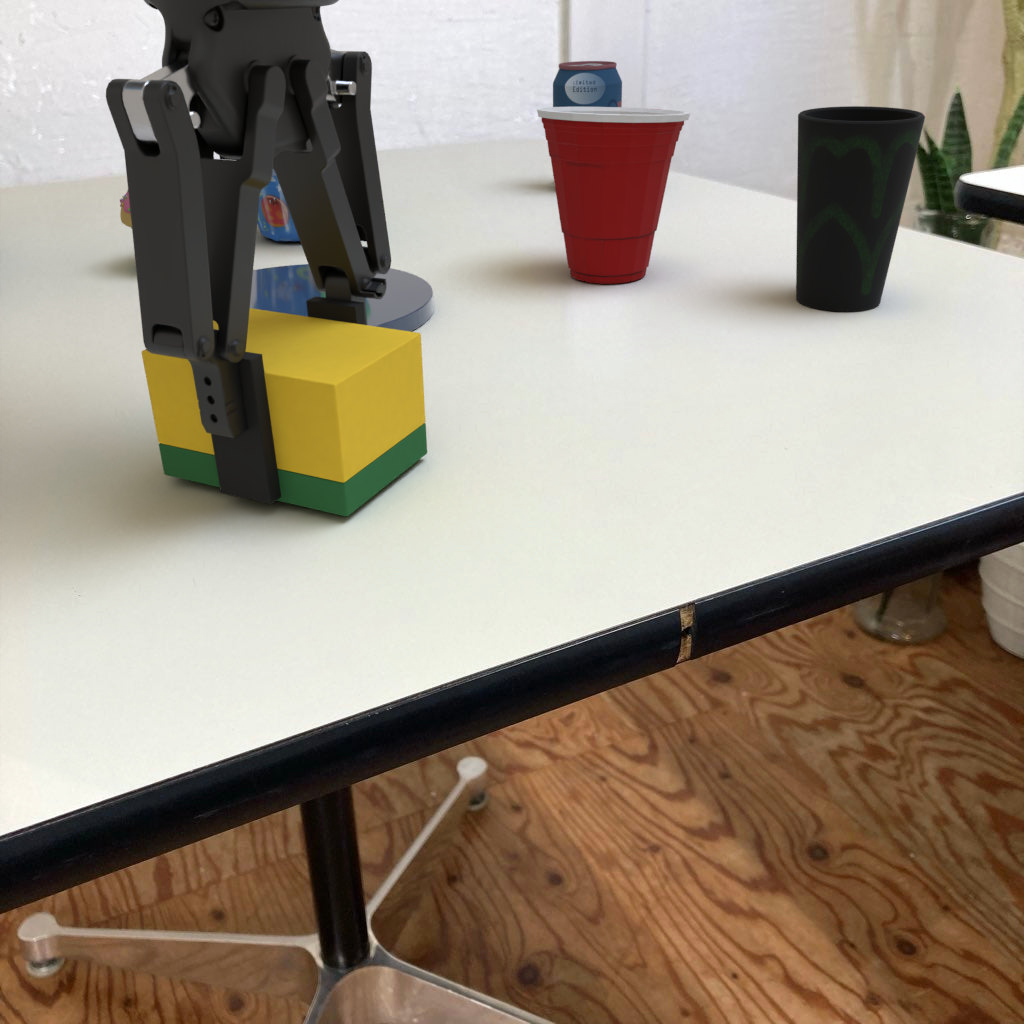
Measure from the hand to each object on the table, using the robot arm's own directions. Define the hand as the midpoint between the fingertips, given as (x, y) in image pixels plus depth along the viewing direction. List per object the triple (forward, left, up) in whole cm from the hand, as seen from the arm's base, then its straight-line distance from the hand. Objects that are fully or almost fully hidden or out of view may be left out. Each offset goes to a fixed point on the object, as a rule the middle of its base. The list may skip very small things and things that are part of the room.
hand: (302, 459), depth 49 cm
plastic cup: (+1, +38, -1) cm, 38 cm away
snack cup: (-29, +41, -1) cm, 50 cm away
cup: (+18, +37, -1) cm, 41 cm away
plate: (-15, +21, -1) cm, 26 cm away
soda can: (-13, +69, -1) cm, 70 cm away
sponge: (0, 0, 0) cm, 0 cm away
